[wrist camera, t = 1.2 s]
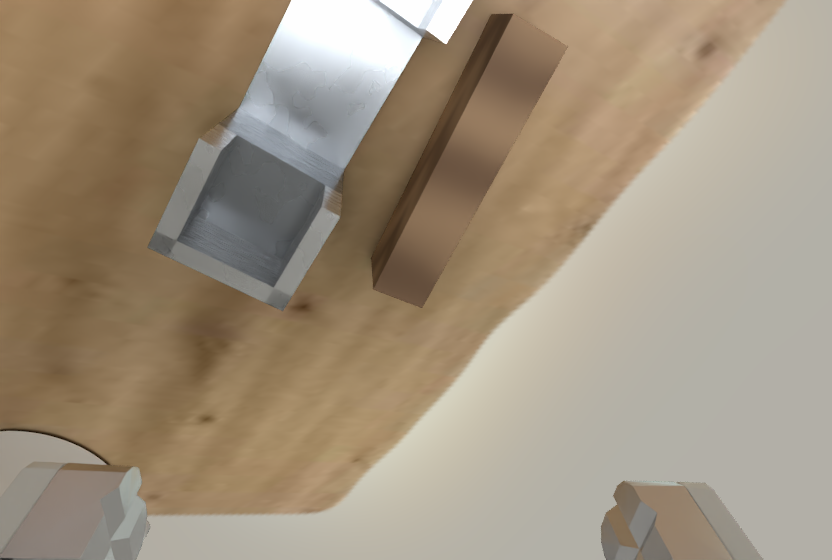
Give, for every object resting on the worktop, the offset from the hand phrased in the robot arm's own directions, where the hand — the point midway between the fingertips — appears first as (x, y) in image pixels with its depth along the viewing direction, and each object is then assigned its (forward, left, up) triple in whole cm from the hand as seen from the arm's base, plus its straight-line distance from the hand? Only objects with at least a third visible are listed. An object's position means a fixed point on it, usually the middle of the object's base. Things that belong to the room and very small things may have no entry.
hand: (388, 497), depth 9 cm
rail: (+2, -5, -27) cm, 28 cm away
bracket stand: (+3, +4, -27) cm, 27 cm away
